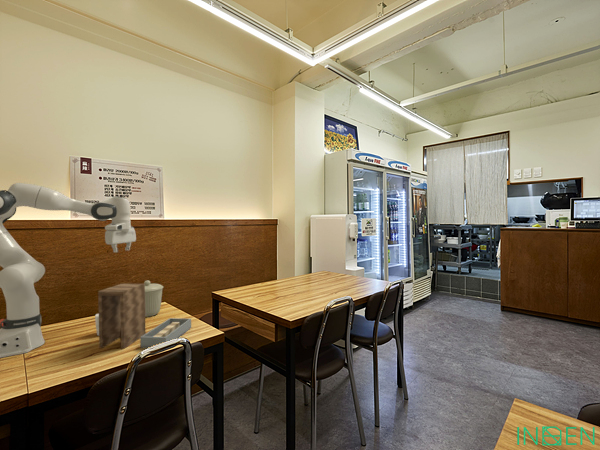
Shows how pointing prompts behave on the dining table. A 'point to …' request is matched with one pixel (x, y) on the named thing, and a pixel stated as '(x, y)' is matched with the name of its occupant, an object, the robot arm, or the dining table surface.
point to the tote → (149, 340)
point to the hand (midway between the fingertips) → (121, 251)
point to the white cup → (97, 323)
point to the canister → (152, 298)
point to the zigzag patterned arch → (121, 314)
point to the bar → (167, 330)
